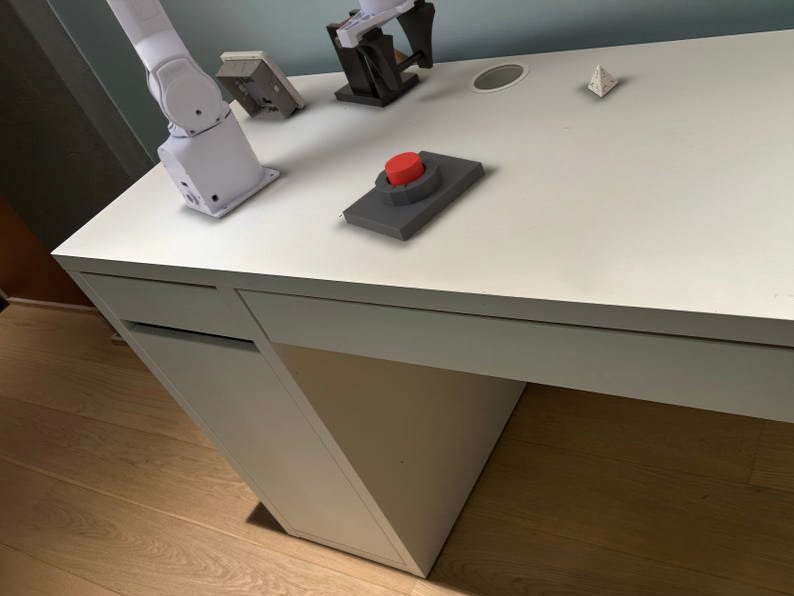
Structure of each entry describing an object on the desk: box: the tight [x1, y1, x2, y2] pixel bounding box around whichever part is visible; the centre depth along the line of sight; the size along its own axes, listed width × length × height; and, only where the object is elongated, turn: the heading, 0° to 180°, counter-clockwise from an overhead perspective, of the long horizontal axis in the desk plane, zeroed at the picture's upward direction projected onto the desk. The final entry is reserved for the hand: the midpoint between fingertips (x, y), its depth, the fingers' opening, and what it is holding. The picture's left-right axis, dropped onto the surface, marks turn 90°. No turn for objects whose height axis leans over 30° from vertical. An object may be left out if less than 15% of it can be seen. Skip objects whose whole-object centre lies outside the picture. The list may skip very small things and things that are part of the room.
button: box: [384, 151, 424, 186], centre depth 72 cm, size 4×4×2 cm
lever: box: [340, 16, 424, 74], centre depth 91 cm, size 11×5×2 cm, turn 48°
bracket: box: [325, 8, 421, 108], centre depth 94 cm, size 10×7×10 cm
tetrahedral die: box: [587, 64, 619, 98], centre depth 80 cm, size 4×3×3 cm
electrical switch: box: [215, 50, 306, 120], centre depth 99 cm, size 9×5×9 cm, turn 57°
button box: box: [341, 150, 485, 242], centre depth 73 cm, size 12×9×3 cm
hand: (411, 78), depth 91 cm, fingers closed on lever, 5 cm apart
